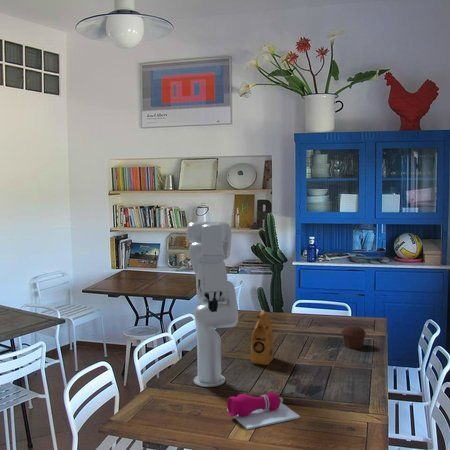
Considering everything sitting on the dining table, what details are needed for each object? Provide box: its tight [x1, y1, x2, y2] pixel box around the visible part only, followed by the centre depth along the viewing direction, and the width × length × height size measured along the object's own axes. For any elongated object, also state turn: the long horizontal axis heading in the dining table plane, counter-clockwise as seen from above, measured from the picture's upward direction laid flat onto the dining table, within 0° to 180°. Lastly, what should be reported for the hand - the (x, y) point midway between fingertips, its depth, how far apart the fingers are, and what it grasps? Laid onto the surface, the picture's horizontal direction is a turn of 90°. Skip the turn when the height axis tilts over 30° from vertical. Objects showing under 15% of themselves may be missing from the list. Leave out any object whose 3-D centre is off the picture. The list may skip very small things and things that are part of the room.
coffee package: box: [250, 309, 274, 366], centre depth 236 cm, size 10×12×22 cm
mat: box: [226, 402, 301, 430], centre depth 182 cm, size 16×20×1 cm
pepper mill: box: [226, 391, 284, 417], centre depth 181 cm, size 7×7×20 cm
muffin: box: [340, 324, 366, 350], centre depth 256 cm, size 12×11×10 cm
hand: (213, 311), depth 184 cm, fingers closed
